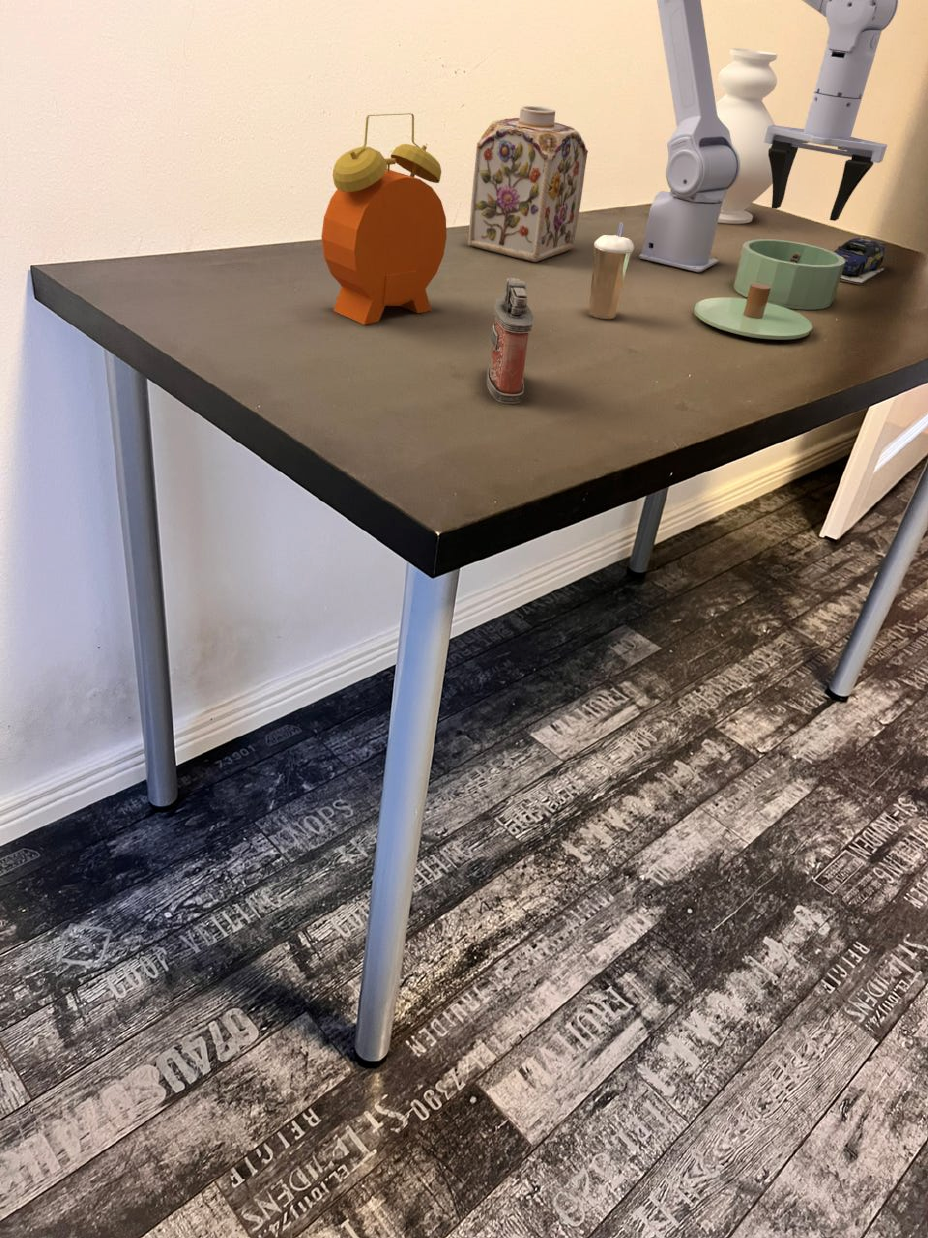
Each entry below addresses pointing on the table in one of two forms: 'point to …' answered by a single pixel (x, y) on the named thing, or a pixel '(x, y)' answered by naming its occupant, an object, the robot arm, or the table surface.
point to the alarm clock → (383, 230)
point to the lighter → (509, 343)
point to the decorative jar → (527, 186)
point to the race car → (860, 259)
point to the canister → (790, 273)
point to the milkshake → (609, 273)
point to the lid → (753, 316)
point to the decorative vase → (746, 128)
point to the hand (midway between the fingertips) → (804, 213)
